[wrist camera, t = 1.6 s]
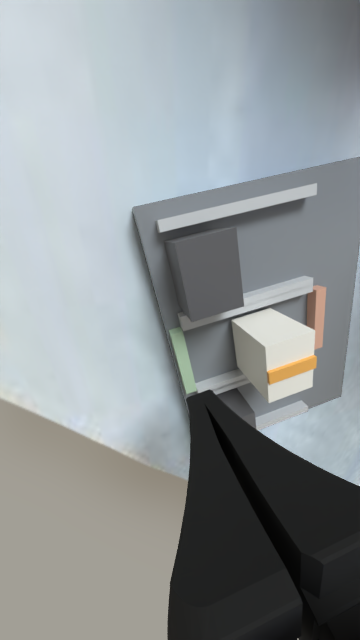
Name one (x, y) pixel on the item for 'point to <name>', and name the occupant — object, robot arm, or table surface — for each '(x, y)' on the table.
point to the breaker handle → (274, 353)
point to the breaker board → (256, 277)
